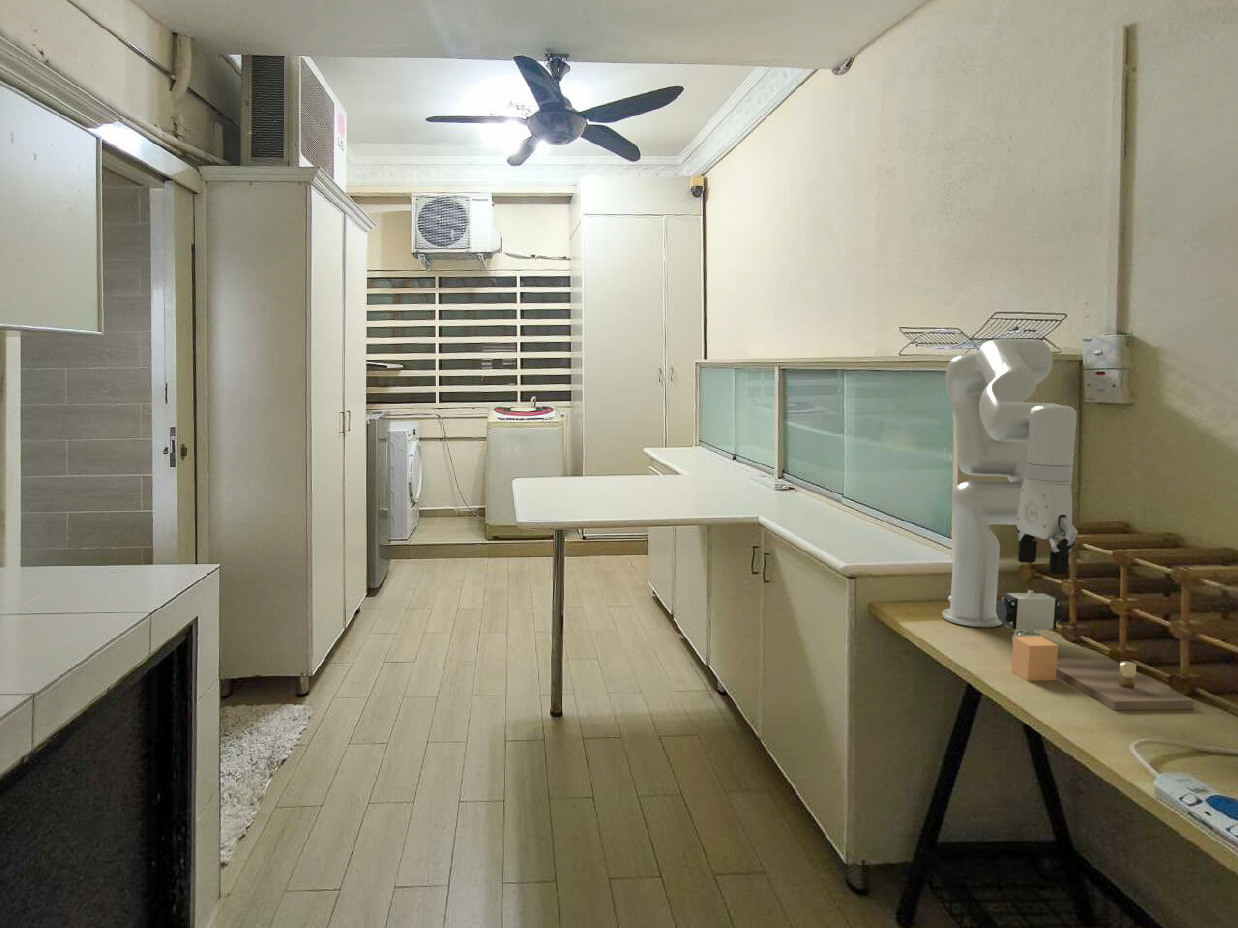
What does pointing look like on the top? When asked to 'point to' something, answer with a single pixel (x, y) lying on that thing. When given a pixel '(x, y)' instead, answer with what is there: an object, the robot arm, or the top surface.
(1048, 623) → the pneumatic valve
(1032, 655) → the peach foam cube
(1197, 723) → the top surface
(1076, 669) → the brown wooden board
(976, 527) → the robot arm
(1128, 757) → the top surface
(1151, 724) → the top surface
